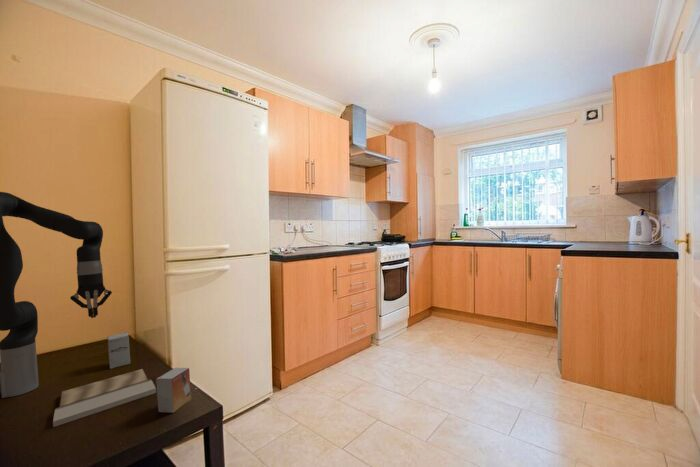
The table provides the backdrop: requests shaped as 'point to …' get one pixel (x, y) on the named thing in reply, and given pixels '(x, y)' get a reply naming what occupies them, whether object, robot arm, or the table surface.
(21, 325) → the robot arm
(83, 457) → the table surface
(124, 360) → the supplement box
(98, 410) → the grey board
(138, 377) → the oak plank
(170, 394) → the small box
